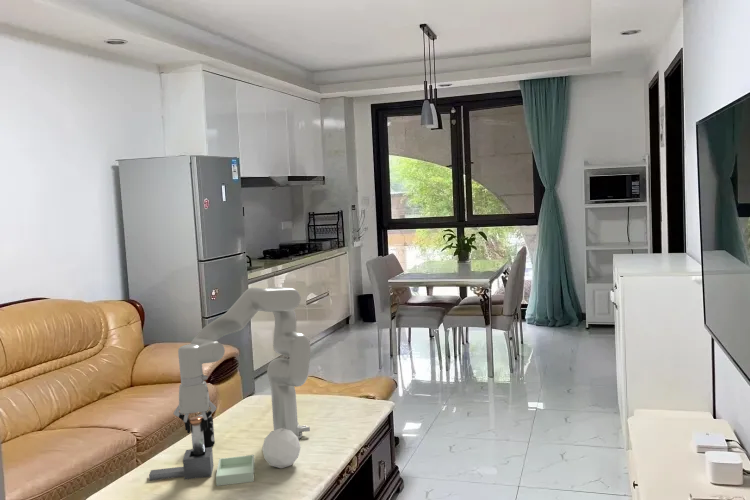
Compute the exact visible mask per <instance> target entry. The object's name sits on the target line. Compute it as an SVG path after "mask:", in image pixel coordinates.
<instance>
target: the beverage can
mask: <svg viewBox="0 0 750 500" xmlns="http://www.w3.org/2000/svg"><path fill="white" fill-rule="evenodd" d="M197 416H201V417H203V415H202V413H201V414H200V413H199V414H198V415H197ZM207 421H208V428H206V431H203V435H204V446H205V448H208V447H212V448H213V447H214V445H215V443H216V442H215V429H214V428H215V427H214V418H213V417H212V414H211V415H210V416H209V417H208V419H207ZM202 425H203V422H202Z"/></svg>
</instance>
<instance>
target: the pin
mask: <svg viewBox="0 0 750 500" xmlns="http://www.w3.org/2000/svg"><path fill="white" fill-rule="evenodd" d="M202 422H203V417H201V416H198V415H196V416H192V417H190V418H189V424H190V428H191V431H190V434H191V445H192V449H193V454H195V455H199V454H203V453H204V452H205V446H204V435H203V425H202Z"/></svg>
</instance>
